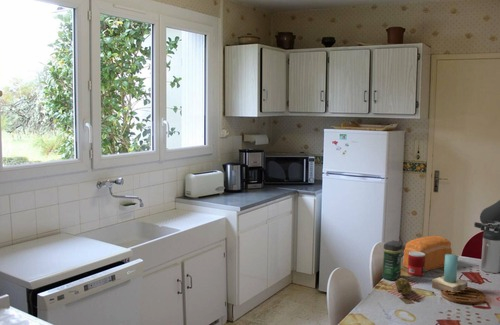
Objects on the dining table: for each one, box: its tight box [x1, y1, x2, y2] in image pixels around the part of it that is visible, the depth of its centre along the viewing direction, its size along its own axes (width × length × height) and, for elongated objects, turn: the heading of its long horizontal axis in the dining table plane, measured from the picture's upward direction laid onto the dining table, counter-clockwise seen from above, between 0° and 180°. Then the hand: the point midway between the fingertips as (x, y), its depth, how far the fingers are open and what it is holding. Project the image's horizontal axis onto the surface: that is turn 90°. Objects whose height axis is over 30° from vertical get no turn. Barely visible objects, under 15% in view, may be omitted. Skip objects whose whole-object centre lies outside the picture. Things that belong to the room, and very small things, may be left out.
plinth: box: [431, 275, 468, 292], centre depth 230 cm, size 11×11×4 cm
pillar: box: [443, 254, 459, 283], centre depth 229 cm, size 6×6×12 cm
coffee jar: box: [381, 239, 403, 281], centre depth 243 cm, size 10×8×19 cm
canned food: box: [407, 251, 425, 277], centre depth 250 cm, size 8×8×11 cm
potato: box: [394, 277, 413, 296], centre depth 222 cm, size 8×13×8 cm, turn 140°
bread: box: [402, 235, 453, 272], centre depth 264 cm, size 14×26×16 cm, turn 122°
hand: (480, 223), depth 227 cm, fingers open, 8 cm apart
